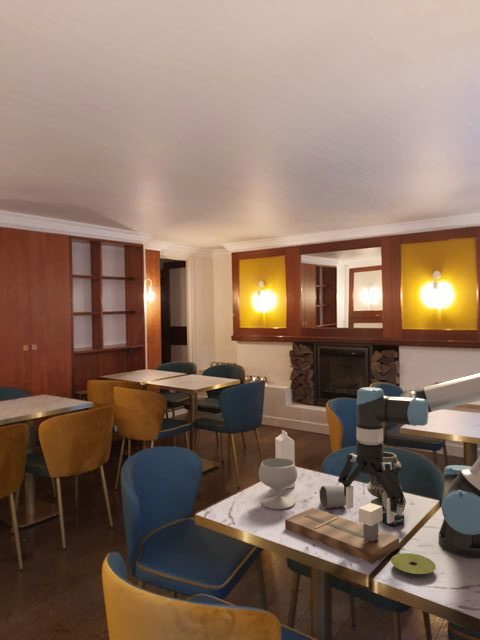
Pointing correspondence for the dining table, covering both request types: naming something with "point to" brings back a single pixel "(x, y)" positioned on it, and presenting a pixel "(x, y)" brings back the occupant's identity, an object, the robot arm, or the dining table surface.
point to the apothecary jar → (374, 484)
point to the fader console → (341, 535)
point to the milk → (285, 449)
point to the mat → (413, 563)
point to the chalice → (278, 481)
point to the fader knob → (370, 520)
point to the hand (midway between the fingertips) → (369, 514)
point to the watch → (397, 515)
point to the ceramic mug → (332, 496)
